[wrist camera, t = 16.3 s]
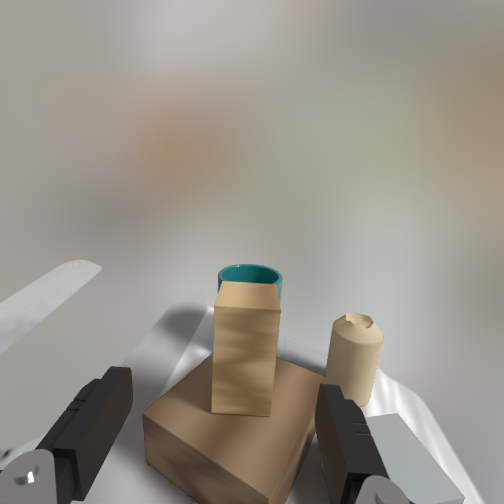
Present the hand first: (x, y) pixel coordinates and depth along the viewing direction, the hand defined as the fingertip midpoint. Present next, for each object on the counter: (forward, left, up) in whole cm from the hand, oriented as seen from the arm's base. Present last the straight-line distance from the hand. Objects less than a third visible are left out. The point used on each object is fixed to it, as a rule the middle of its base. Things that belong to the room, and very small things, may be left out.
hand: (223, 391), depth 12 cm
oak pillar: (+1, +12, -11) cm, 16 cm away
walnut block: (+1, +12, -17) cm, 21 cm away
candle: (+13, +19, -17) cm, 29 cm away
